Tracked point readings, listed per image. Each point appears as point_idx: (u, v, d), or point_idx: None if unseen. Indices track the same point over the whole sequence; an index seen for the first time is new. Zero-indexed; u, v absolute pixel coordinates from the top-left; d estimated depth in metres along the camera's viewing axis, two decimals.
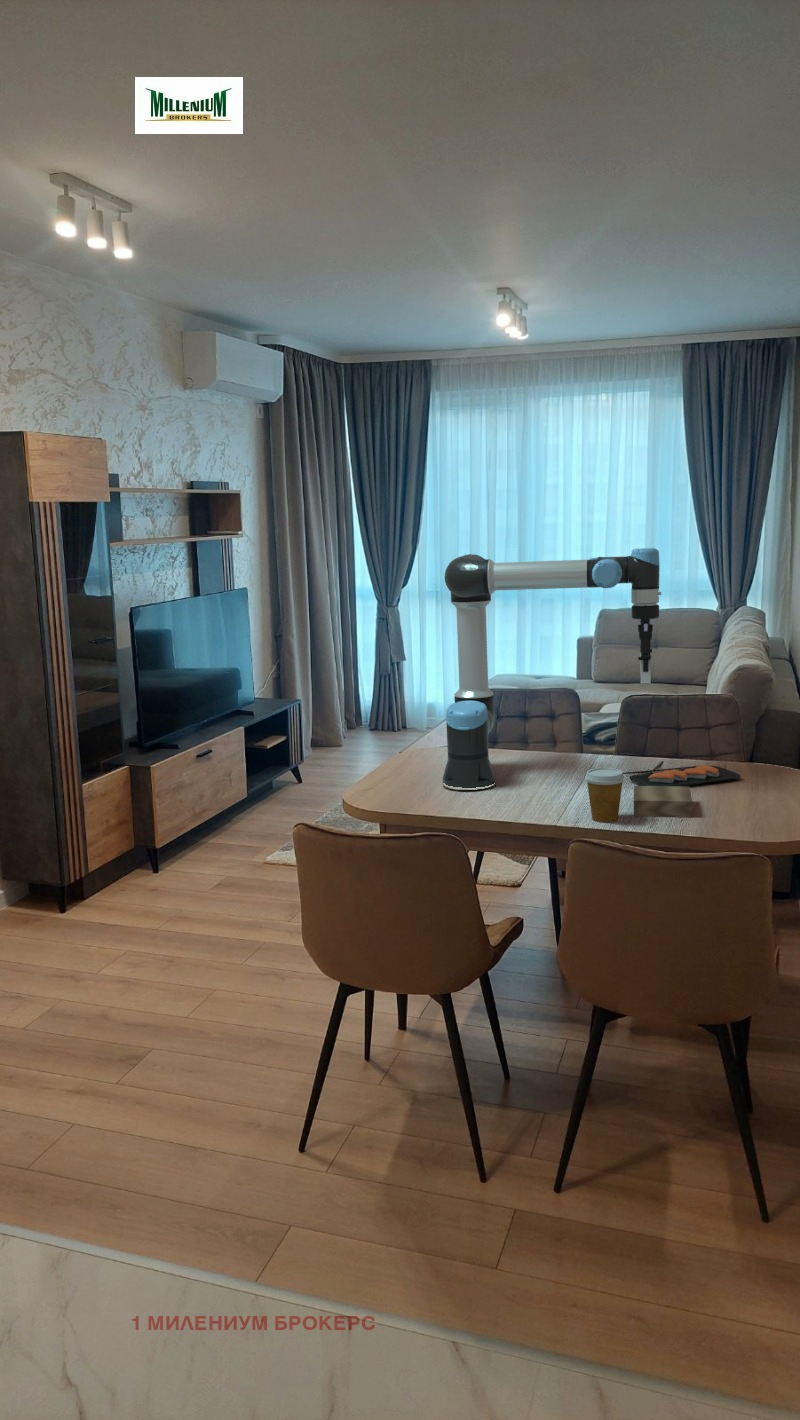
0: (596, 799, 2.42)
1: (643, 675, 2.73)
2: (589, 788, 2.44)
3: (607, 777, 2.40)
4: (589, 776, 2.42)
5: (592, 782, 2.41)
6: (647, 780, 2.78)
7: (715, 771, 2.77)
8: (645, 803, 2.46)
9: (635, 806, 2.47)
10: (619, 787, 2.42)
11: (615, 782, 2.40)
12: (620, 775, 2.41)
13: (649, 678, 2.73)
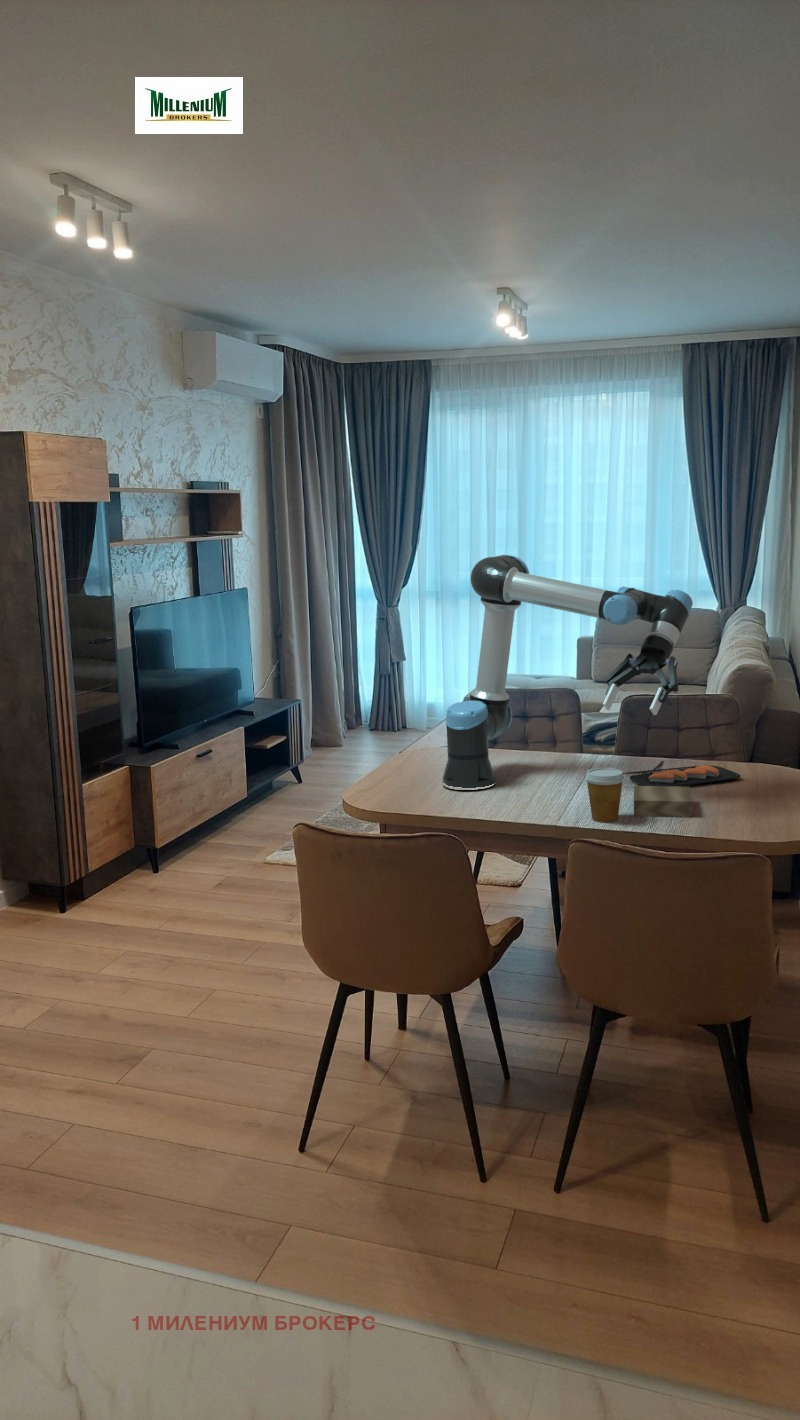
0: (596, 799, 2.42)
1: (656, 702, 2.45)
2: (589, 788, 2.44)
3: (607, 777, 2.40)
4: (589, 776, 2.42)
5: (592, 782, 2.41)
6: (647, 780, 2.78)
7: (715, 771, 2.77)
8: (645, 803, 2.46)
9: (635, 806, 2.47)
10: (619, 787, 2.42)
11: (615, 782, 2.40)
12: (620, 775, 2.41)
13: (658, 709, 2.45)
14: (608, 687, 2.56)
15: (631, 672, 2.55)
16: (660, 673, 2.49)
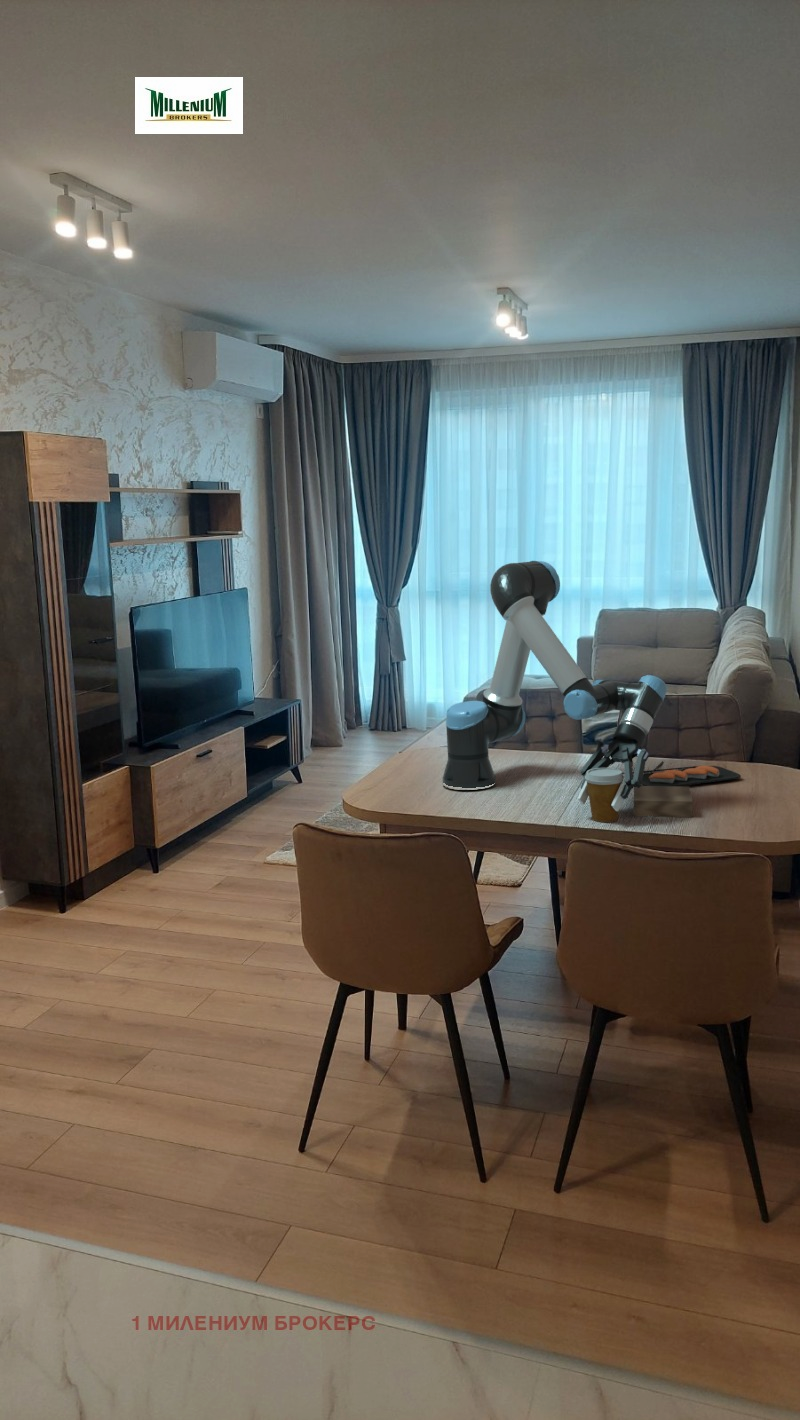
0: (595, 799, 2.42)
1: (618, 799, 2.40)
2: (589, 788, 2.44)
3: (607, 777, 2.40)
4: (589, 776, 2.42)
5: (592, 782, 2.41)
6: (647, 780, 2.78)
7: (715, 771, 2.77)
8: (645, 803, 2.46)
9: (635, 806, 2.47)
10: None
11: (615, 782, 2.40)
12: (620, 775, 2.41)
13: (620, 805, 2.41)
14: (583, 780, 2.49)
15: (605, 762, 2.49)
16: (627, 765, 2.44)
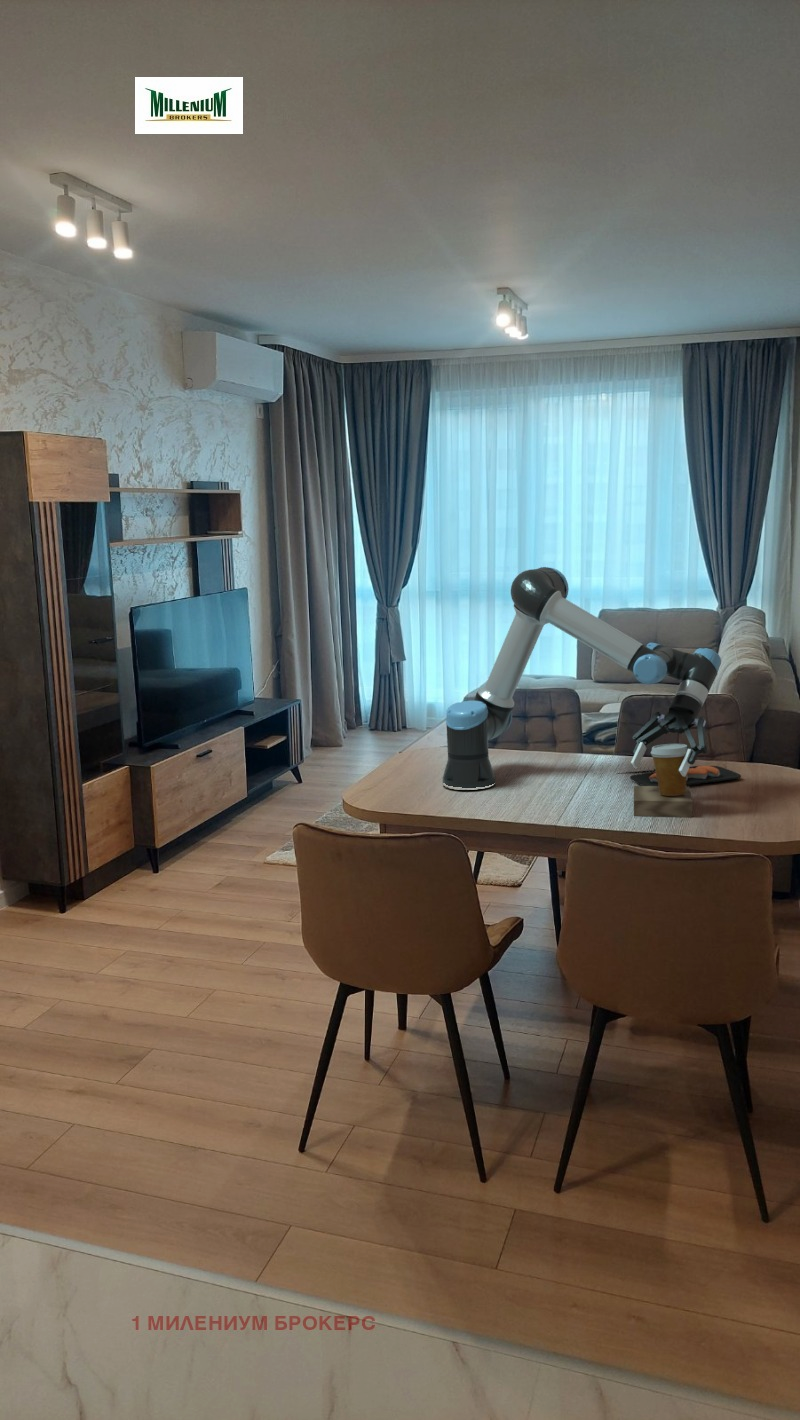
0: (663, 773, 2.47)
1: (685, 764, 2.44)
2: (655, 763, 2.49)
3: (673, 749, 2.45)
4: (655, 750, 2.48)
5: (658, 756, 2.47)
6: (648, 780, 2.78)
7: (716, 771, 2.77)
8: (645, 803, 2.46)
9: (635, 806, 2.47)
10: None
11: (681, 754, 2.45)
12: (685, 748, 2.46)
13: (687, 771, 2.45)
14: (636, 745, 2.56)
15: (659, 731, 2.55)
16: (689, 733, 2.49)
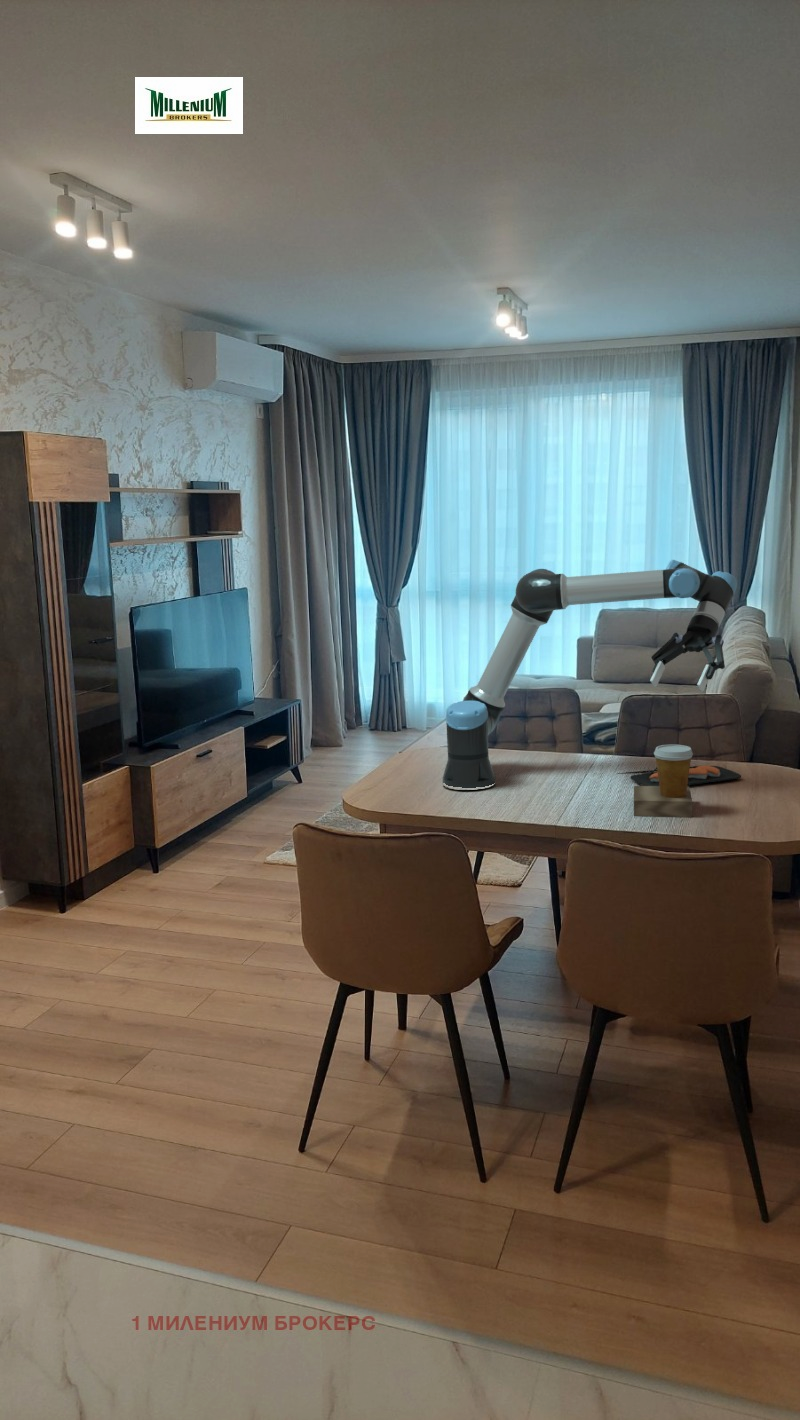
0: (665, 775, 2.47)
1: (703, 679, 2.53)
2: (658, 764, 2.48)
3: (677, 753, 2.44)
4: (659, 752, 2.46)
5: (662, 758, 2.46)
6: (648, 780, 2.78)
7: (716, 771, 2.77)
8: (645, 803, 2.46)
9: (635, 806, 2.47)
10: (688, 763, 2.46)
11: (685, 758, 2.44)
12: (689, 751, 2.45)
13: (705, 686, 2.54)
14: (655, 664, 2.65)
15: (677, 650, 2.64)
16: (707, 651, 2.57)
